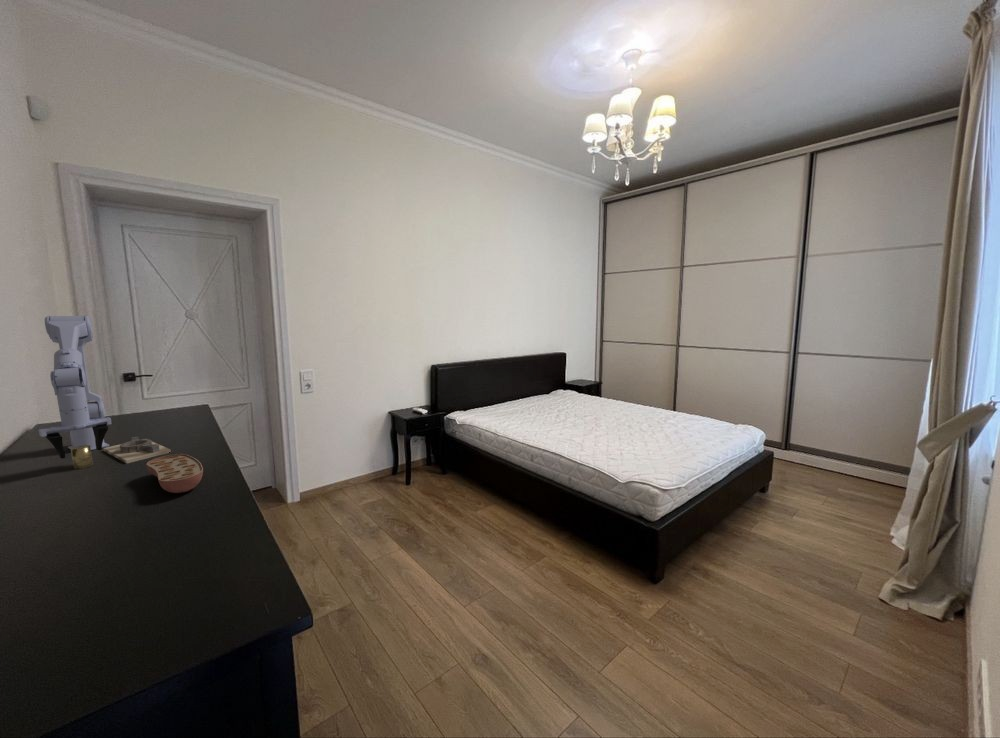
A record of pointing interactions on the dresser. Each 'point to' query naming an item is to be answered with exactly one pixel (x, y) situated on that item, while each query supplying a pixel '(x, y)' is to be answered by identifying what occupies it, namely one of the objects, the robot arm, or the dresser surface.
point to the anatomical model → (176, 472)
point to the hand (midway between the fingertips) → (81, 453)
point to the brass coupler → (81, 456)
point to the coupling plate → (134, 455)
